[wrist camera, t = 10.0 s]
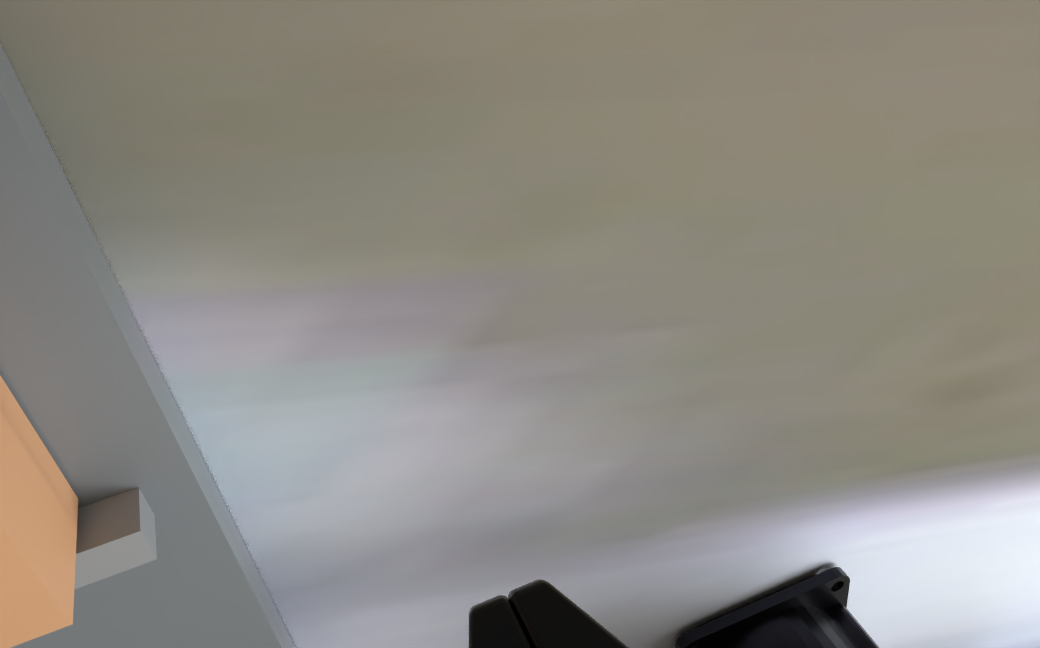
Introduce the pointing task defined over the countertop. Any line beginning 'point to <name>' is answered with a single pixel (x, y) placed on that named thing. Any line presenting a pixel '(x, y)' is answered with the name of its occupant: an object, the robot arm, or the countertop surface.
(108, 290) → the grey divided tray
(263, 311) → the countertop surface
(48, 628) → the lid
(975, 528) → the countertop surface
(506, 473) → the countertop surface
